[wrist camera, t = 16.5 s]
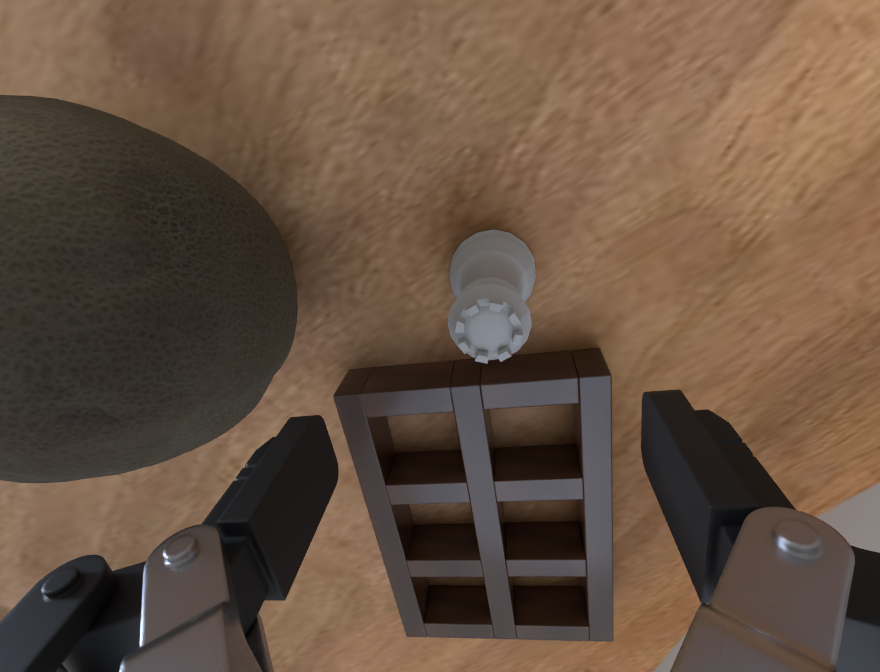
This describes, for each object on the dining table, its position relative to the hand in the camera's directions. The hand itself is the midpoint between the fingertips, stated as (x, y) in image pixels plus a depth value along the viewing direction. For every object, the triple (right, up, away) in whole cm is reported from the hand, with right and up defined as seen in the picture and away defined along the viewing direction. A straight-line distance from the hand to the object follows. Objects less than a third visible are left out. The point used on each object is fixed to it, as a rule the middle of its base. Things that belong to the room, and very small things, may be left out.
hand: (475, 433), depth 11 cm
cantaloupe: (-13, +7, +14) cm, 21 cm away
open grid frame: (+2, -9, +19) cm, 21 cm away
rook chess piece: (+2, +6, +13) cm, 14 cm away
